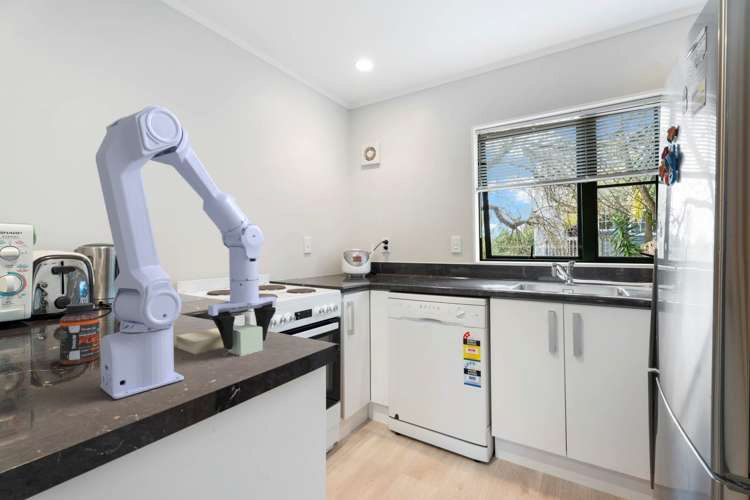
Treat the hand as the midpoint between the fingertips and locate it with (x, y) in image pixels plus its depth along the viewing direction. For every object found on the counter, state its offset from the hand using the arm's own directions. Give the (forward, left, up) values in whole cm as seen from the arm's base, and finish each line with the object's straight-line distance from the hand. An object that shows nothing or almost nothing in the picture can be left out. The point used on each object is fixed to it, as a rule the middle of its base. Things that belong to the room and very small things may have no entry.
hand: (245, 344), depth 72 cm
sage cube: (0, 0, -2) cm, 2 cm away
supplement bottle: (-23, +21, -2) cm, 31 cm away
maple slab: (-3, +11, -2) cm, 12 cm away
